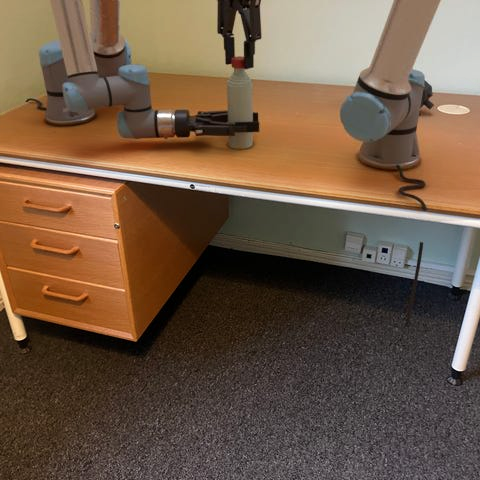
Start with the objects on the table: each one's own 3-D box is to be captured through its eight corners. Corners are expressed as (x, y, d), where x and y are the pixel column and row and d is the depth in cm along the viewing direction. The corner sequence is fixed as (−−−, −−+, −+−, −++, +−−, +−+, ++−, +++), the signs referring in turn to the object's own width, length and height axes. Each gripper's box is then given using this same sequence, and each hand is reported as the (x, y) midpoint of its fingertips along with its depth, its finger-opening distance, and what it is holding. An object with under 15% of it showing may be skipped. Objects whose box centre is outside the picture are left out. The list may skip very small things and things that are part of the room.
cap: (230, 68, 137) (230, 60, 136) (232, 64, 140) (232, 56, 139) (246, 68, 136) (245, 60, 135) (248, 64, 140) (248, 56, 139)
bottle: (257, 143, 150) (257, 59, 138) (243, 150, 146) (242, 65, 133) (237, 138, 154) (236, 56, 141) (223, 145, 149) (220, 61, 137)
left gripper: (179, 124, 157) (257, 122, 157) (172, 150, 140) (260, 148, 140) (177, 99, 153) (257, 97, 153) (170, 122, 136) (260, 121, 136)
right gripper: (278, -33, 122) (276, 69, 134) (222, -37, 134) (225, 57, 146) (255, -30, 118) (255, 75, 130) (199, -35, 130) (204, 62, 142)
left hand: (258, 122), depth 146 cm, fingers closed on bottle, 7 cm apart
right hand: (239, 65), depth 138 cm, fingers open, 6 cm apart
